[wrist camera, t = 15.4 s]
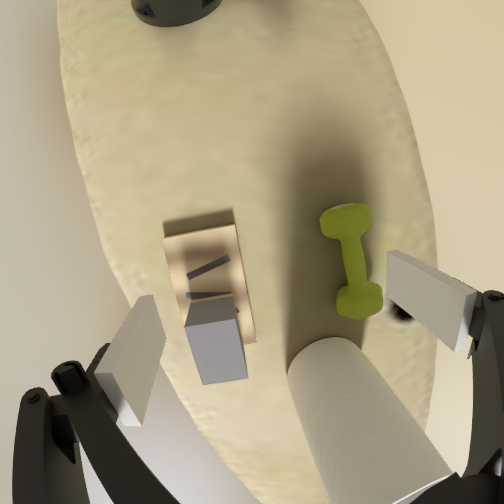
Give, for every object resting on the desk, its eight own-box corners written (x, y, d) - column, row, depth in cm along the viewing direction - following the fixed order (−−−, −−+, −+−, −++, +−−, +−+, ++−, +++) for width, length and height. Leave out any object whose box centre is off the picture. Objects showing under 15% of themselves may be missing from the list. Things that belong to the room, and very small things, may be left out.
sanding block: (191, 300, 39) (184, 326, 31) (232, 293, 39) (235, 318, 32) (205, 352, 41) (202, 385, 33) (243, 346, 41) (248, 378, 34)
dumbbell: (309, 210, 40) (327, 215, 33) (357, 197, 40) (381, 200, 33) (329, 309, 44) (346, 330, 37) (371, 294, 44) (393, 311, 37)
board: (164, 236, 39) (161, 239, 37) (234, 223, 39) (234, 225, 37) (193, 346, 43) (192, 352, 41) (255, 335, 43) (256, 342, 41)
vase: (276, 350, 45) (336, 525, 14) (355, 322, 45) (471, 453, 14) (294, 405, 48) (342, 546, 17) (362, 380, 48) (441, 498, 18)
